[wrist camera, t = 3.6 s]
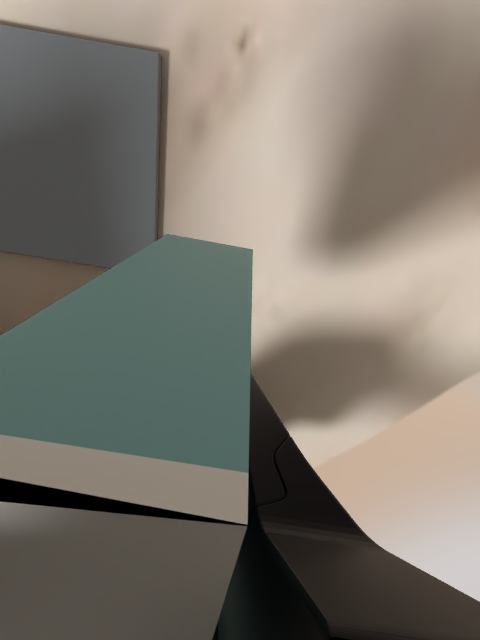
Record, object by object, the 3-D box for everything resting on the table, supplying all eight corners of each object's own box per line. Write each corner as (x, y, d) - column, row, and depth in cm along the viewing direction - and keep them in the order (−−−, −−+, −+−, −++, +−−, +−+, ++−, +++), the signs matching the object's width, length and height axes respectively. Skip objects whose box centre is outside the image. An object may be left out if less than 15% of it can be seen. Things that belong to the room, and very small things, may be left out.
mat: (156, 272, 21) (153, 275, 20) (-43, 241, 20) (-51, 242, 20) (161, 56, 15) (158, 52, 15) (-105, 9, 15) (-119, 3, 15)
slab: (223, 402, 13) (174, 758, 5) (158, 391, 13) (0, 737, 5) (252, 249, 10) (247, 526, 2) (167, 234, 10) (-204, 459, 2)
